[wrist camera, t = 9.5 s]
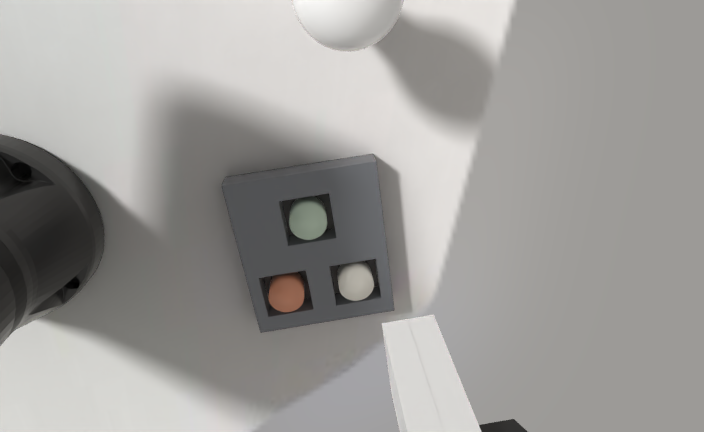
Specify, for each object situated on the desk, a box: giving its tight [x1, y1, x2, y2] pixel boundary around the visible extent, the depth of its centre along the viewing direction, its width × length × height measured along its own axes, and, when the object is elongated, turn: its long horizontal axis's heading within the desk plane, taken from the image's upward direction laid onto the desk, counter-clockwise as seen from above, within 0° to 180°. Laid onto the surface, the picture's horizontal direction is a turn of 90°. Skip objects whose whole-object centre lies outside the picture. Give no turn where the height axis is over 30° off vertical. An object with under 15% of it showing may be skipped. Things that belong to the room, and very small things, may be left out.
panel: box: [222, 154, 394, 333], centre depth 41 cm, size 12×14×2 cm
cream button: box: [337, 261, 374, 301], centre depth 42 cm, size 3×3×2 cm
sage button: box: [289, 196, 327, 240], centre depth 39 cm, size 3×3×2 cm
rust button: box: [269, 272, 304, 312], centre depth 42 cm, size 3×3×2 cm
